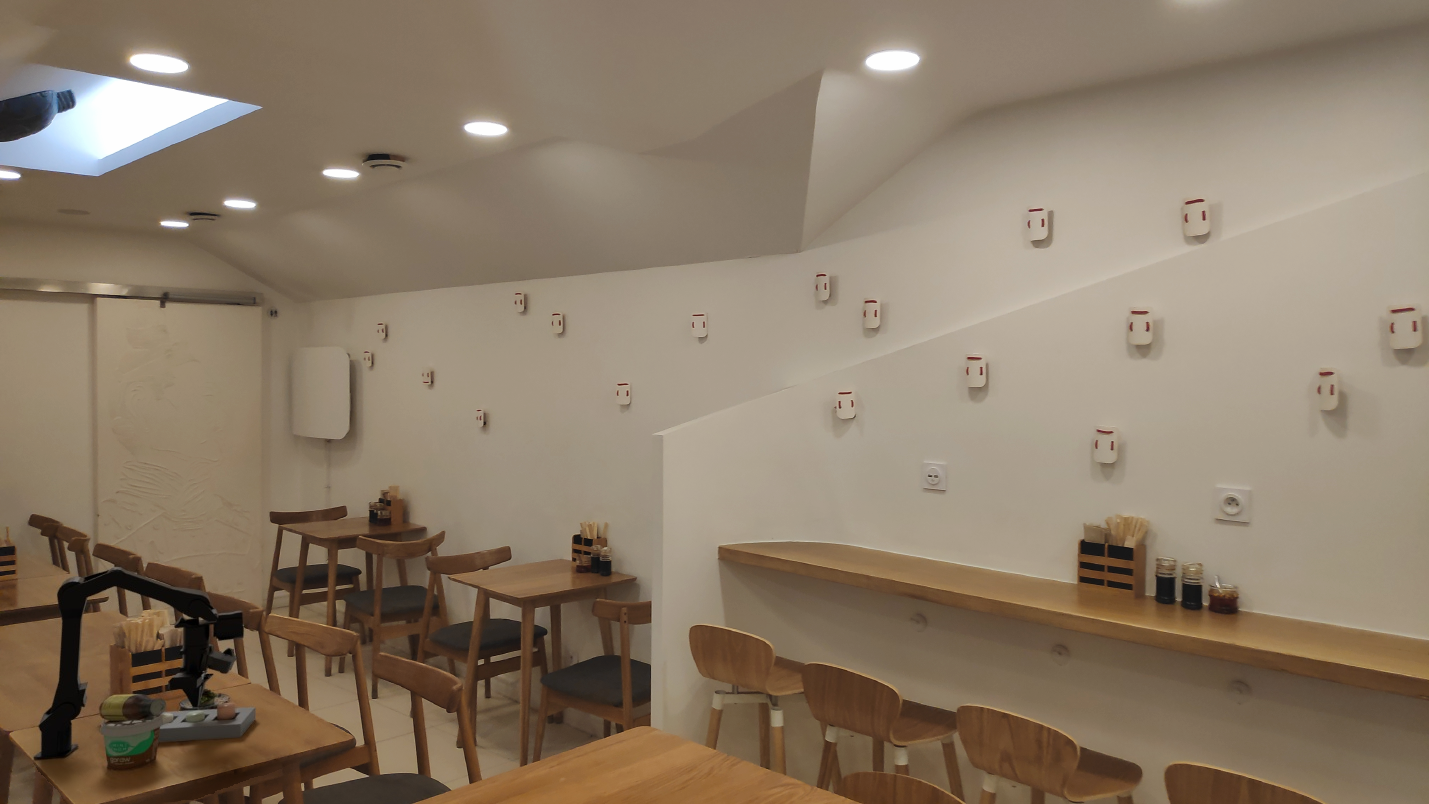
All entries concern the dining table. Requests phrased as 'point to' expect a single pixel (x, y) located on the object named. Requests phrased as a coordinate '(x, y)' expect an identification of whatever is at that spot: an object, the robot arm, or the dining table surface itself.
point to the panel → (205, 725)
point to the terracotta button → (226, 711)
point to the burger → (205, 701)
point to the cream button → (166, 717)
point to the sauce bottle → (130, 707)
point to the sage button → (195, 716)
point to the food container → (131, 743)
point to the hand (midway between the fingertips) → (195, 706)
